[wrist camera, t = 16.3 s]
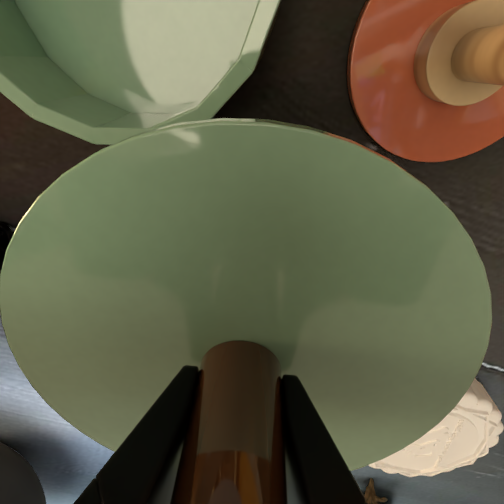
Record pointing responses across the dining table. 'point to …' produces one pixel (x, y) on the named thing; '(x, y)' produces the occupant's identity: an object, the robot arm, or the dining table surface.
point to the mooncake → (451, 438)
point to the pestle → (463, 54)
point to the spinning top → (411, 87)
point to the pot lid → (246, 297)
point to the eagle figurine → (372, 494)
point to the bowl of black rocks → (18, 479)
